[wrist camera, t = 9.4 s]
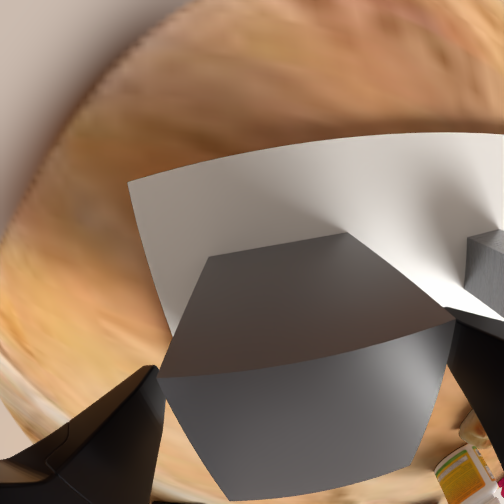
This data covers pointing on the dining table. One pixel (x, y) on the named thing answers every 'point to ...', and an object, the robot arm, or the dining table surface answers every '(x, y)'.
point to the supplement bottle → (466, 477)
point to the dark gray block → (305, 367)
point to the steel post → (486, 269)
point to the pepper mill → (503, 484)
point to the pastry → (474, 432)
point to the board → (329, 207)
